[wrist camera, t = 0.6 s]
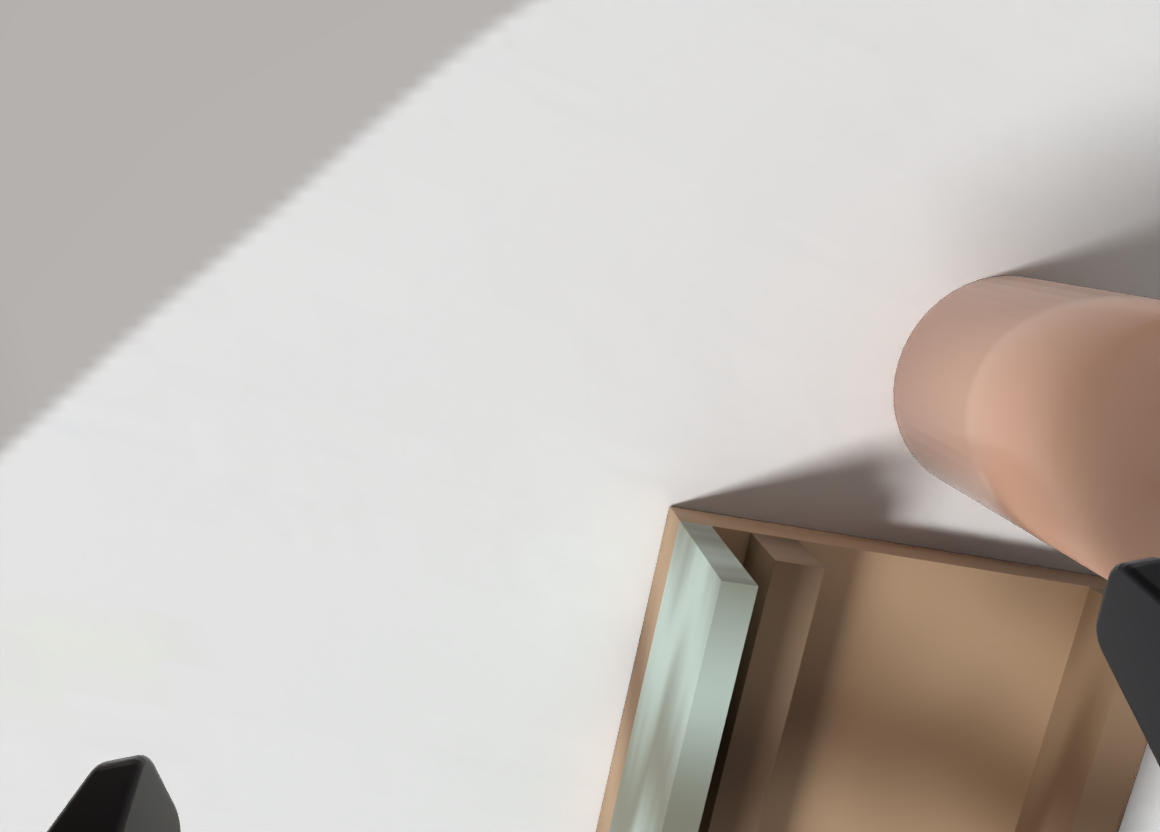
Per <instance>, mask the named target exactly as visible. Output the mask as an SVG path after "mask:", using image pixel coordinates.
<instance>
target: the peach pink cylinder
mask: <svg viewBox="0 0 1160 832" xmlns="http://www.w3.org/2000/svg"><path fill="white" fill-rule="evenodd" d="M893 393H894V410H895V416H896V421H897V424H898V427H899V431H900V433H901V435H902V438H903V440H904V442H905V444H906V446H907V447H908V449H909V450H910V452H911V454H912V455H913V456H914V457H915V459H916V460H917V461H918V462H919V463H920V464H921V465H922V466H923V467H924V468H925V469H926V470H927V471H929V472H930V473H931V474H933V475H934V476H936V477H937V478H939V479H940V480H942V481H944V482H945V483H947V484H949V485H950V486H952V487H954V488H955V489H957V490H959V491H960V492H962V493H963V494H965V495H967V496H968V497H970V498H972V499H973V500H975V501H977V502H978V503H980V504H982V505H983V506H985V507H987V508H988V509H990V510H992V511H993V512H995V513H997V514H998V515H1000V516H1002V517H1003V518H1005V519H1007V520H1008V521H1010V522H1012V523H1013V524H1015V525H1017V526H1018V527H1020V528H1022V529H1023V530H1025V531H1027V532H1028V533H1030V534H1032V535H1033V536H1035V537H1037V538H1038V539H1040V540H1042V541H1043V542H1045V543H1046V544H1048V545H1050V546H1051V547H1053V548H1055V549H1056V550H1058V551H1060V552H1061V553H1063V554H1065V555H1066V556H1068V557H1070V558H1071V559H1073V560H1075V561H1076V562H1078V563H1080V564H1081V565H1083V566H1085V567H1086V568H1088V569H1090V570H1091V571H1093V572H1095V573H1096V574H1098V575H1100V576H1101V577H1103V578H1105V579H1106V580H1108V576H1109V573H1110V571H1111V570H1112V569H1113V568H1114V566H1115V565H1117V564H1119V563H1122V562H1127V561H1133V560H1138V559H1143V558H1148V557H1158V558H1160V300H1159V299H1153V298H1147V297H1141V296H1135V295H1129V294H1123V293H1117V292H1111V291H1105V290H1099V289H1094V288H1088V287H1082V286H1076V285H1070V284H1064V283H1058V282H1052V281H1046V280H1040V279H1034V278H1028V277H1022V276H996V277H990V278H985V279H981V280H977V281H975V282H972V283H970V284H967V285H964V286H963V287H961V288H959V289H957V290H955V291H953V292H951V293H950V294H949V295H947V296H946V297H944V298H943V299H942V300H940V301H939V302H938V303H937V304H936V305H934V306H933V307H932V308H931V309H930V310H929V311H928V312H927V313H926V314H925V316H924V317H923V318H922V319H921V320H920V321H919V323H918V324H917V326H916V327H915V328H914V330H913V331H912V333H911V334H910V336H909V338H908V340H907V342H906V344H905V346H904V348H903V351H902V353H901V356H900V359H899V361H898V365H897V370H896V374H895V381H894V390H893Z"/></svg>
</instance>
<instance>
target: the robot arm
mask: <svg viewBox="0 0 1160 832" xmlns="http://www.w3.org/2000/svg"><path fill="white" fill-rule="evenodd" d="M1096 634H1097V639H1098V642H1099V646H1100V648H1101V650H1102V653H1103V655H1104V657H1105V659H1106V660H1107V662H1108V664H1109V666H1110V668H1111V670H1112V672H1113V674H1114V676H1115V678H1116V680H1117V682H1118V684H1119V686H1120V688H1121V690H1122V692H1123V694H1124V696H1125V698H1126V700H1127V702H1128V704H1129V706H1130V708H1131V710H1132V712H1133V714H1134V716H1135V718H1136V720H1137V722H1138V724H1139V726H1140V728H1141V730H1142V732H1143V734H1144V736H1145V738H1146V740H1147V742H1148V744H1149V746H1150V748H1151V750H1152V752H1153V754H1154V756H1155V758H1156V760H1157V762H1158V764H1159V766H1160V558H1158V557H1148V558H1143V559H1138V560H1133V561H1127V562H1122V563H1119V564H1117V565H1115V566H1114V568H1113V569H1112V570H1111V571H1110V573H1109V576H1108V580H1107V584H1106V587H1105V591H1104V595H1103V599H1102V602H1101V606H1100V610H1099V614H1098V618H1097V622H1096ZM47 832H181V831H180V822H179V817H178V813H177V810H176V808H175V805H174V803H173V801H172V799H171V797H170V795H169V794H168V792H167V790H166V788H165V786H164V784H163V782H162V780H161V778H160V776H159V774H158V772H157V770H156V768H155V766H154V764H153V763H152V761H151V760H150V759H149V758H148V757H146V756H144V755H136V756H131V757H126V758H121V759H116V760H111V761H106V762H103V763H101V764H99V765H98V766H97V767H95V768H94V769H93V770H92V771H91V773H90V774H89V775H88V776H87V778H86V779H85V781H84V782H83V783H82V785H81V786H80V787H79V789H78V790H77V791H76V793H75V794H74V796H73V797H72V798H71V800H70V801H69V802H68V804H67V805H66V807H65V808H64V809H63V811H62V812H61V813H60V815H59V816H58V817H57V819H56V820H55V822H54V823H53V824H52V826H51V827H50V828H49V830H48V831H47Z"/></svg>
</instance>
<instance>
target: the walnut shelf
mask: <svg viewBox="0 0 1160 832" xmlns="http://www.w3.org/2000/svg"><path fill="white" fill-rule="evenodd" d="M1106 584H1107V580H1106V579H1105V578H1103V577H1100V576H1094V575H1088V574H1082V573H1076V572H1069V571H1063V570H1057V569H1051V568H1045V567H1039V566H1033V565H1027V564H1020V563H1014V562H1008V561H1002V560H996V559H990V558H984V557H978V556H971V555H965V554H959V553H953V552H947V551H941V550H935V549H929V548H922V547H916V546H910V545H904V544H898V543H892V542H886V541H880V540H873V539H867V538H861V537H855V536H849V535H843V534H837V533H830V532H824V531H818V530H812V529H806V528H800V527H794V526H788V525H781V524H775V523H769V522H763V521H757V520H751V519H745V518H739V517H732V516H726V515H720V514H714V513H708V512H702V511H696V510H690V509H683V508H677V507H671V506H670V507H669V512H668V516H667V520H666V525H665V529H664V534H663V538H662V542H661V547H660V551H659V556H658V560H657V565H656V569H655V573H654V578H653V582H652V587H651V591H650V595H649V600H648V604H647V609H646V613H645V618H644V622H643V626H642V631H641V635H640V640H639V644H638V648H637V653H636V657H635V662H634V666H633V671H632V675H631V679H630V684H629V688H628V693H627V697H626V702H625V706H624V710H623V715H622V719H621V724H620V728H619V732H618V737H617V741H616V746H615V750H614V755H613V759H612V763H611V768H610V772H609V777H608V781H607V785H606V790H605V794H604V799H603V803H602V808H601V812H600V816H599V821H598V825H597V830H596V832H1118V831H1119V828H1120V825H1121V822H1122V819H1123V816H1124V812H1125V809H1126V806H1127V803H1128V800H1129V797H1130V794H1131V791H1132V788H1133V785H1134V782H1135V779H1136V776H1137V773H1138V770H1139V767H1140V763H1141V760H1142V757H1143V754H1144V751H1145V748H1146V745H1147V740H1146V738H1145V736H1144V734H1143V732H1142V730H1141V728H1140V726H1139V724H1138V722H1137V720H1136V718H1135V716H1134V714H1133V712H1132V710H1131V708H1130V706H1129V704H1128V702H1127V700H1126V698H1125V696H1124V694H1123V692H1122V690H1121V688H1120V686H1119V684H1118V682H1117V680H1116V678H1115V676H1114V674H1113V672H1112V670H1111V668H1110V666H1109V664H1108V662H1107V660H1106V659H1105V657H1104V655H1103V653H1102V650H1101V648H1100V646H1099V642H1098V639H1097V634H1096V622H1097V618H1098V614H1099V610H1100V606H1101V602H1102V599H1103V595H1104V591H1105V587H1106Z"/></svg>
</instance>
